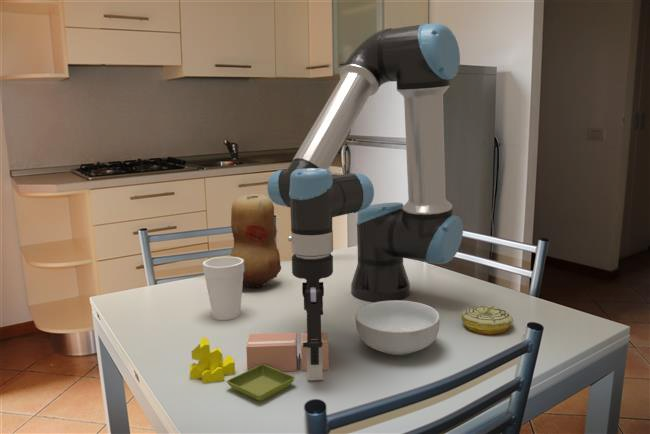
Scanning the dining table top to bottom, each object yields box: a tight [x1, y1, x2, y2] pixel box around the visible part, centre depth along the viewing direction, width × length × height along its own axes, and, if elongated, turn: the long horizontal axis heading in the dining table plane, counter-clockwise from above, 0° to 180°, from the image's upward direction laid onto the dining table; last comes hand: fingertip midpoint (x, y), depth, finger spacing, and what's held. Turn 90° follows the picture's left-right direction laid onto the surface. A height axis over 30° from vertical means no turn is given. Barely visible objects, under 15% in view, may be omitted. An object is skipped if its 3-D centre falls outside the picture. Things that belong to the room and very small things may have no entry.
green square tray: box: [226, 364, 296, 402], centre depth 99 cm, size 9×9×2 cm
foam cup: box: [202, 256, 244, 321], centre depth 133 cm, size 10×9×13 cm
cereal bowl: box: [354, 299, 441, 356], centre depth 114 cm, size 17×17×7 cm
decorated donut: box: [461, 305, 514, 336], centre depth 124 cm, size 10×11×4 cm
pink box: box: [300, 331, 330, 372], centre depth 108 cm, size 5×6×5 cm
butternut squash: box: [229, 193, 282, 288], centre depth 154 cm, size 14×13×25 cm
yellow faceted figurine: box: [189, 336, 236, 384], centre depth 104 cm, size 6×8×8 cm
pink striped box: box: [245, 332, 301, 372], centre depth 108 cm, size 10×6×5 cm, turn 92°
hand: (314, 362), depth 108 cm, fingers open, 13 cm apart
